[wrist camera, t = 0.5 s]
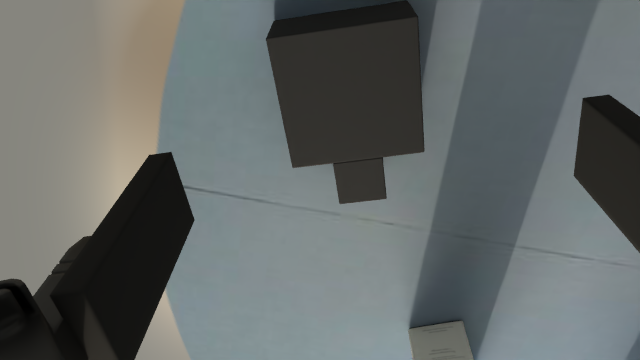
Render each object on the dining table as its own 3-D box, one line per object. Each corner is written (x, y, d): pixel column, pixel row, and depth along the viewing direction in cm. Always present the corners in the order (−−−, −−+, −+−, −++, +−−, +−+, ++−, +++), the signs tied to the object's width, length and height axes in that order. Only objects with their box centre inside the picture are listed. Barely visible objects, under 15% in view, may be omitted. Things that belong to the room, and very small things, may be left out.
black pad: (408, 0, 29) (418, 15, 25) (417, 163, 34) (426, 194, 31) (273, 20, 29) (265, 38, 26) (304, 177, 35) (301, 208, 32)
